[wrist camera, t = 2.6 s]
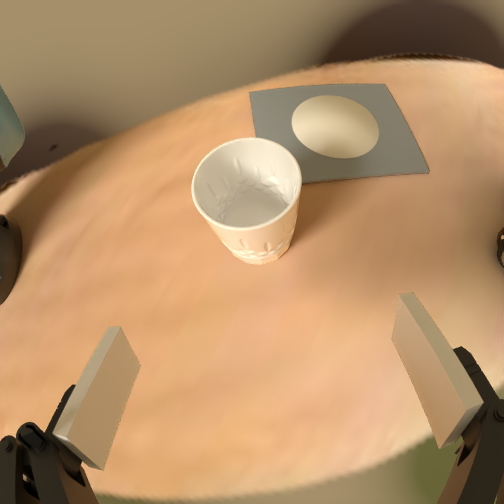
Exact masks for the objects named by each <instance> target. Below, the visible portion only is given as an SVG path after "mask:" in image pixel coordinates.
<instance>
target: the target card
mask: <svg viewBox="0 0 504 504" xmlns="http://www.w3.org/2000/svg"><path fill="white" fill-rule="evenodd" d="M249 94H250V101H251V107H252V114H253V121H254V127H255V134H256V138H263V139H268V140H271V141H273V142H276V143H278V144H280V145H281V146H283V147H284V148H286V149H287V150H288V151H289V152H290V153H291V154H292V155H293V156H294V158H295V159H296V161H297V163H298V165H299V167H300V171H301V176H302V184H307V183H316V182H325V181H334V180H344V179H355V178H366V177H378V176H392V175H407V174H425V173H429V172H430V171H429V169H428V167H427V164H426V162H425V160H424V157H423V155H422V153H421V151H420V149H419V147H418V144H417V142H416V140H415V138H414V136H413V134H412V132H411V130H410V128H409V126H408V124H407V122H406V120H405V118H404V117H403V115H402V113H401V111H400V109H399V107H398V106H397V104H396V102H395V100H394V99H393V97H392V95H391V93H390V92H389V90H388V88H387V87H386V85H385V84H328V85H311V86H298V87H287V88H277V89H269V90H261V91H254V92H249Z"/></svg>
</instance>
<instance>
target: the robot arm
mask: <svg viewBox="0 0 504 504" xmlns="http://www.w3.org/2000/svg"><path fill="white" fill-rule="evenodd" d="M24 138H25V134H24V129H23V126H22V123H21V121H20V119H19V117H18V115H17V113H16V111H15V109H14V108H13V106H12V104H11V102H10V101H9V99H8V97H7V95H6V94H5V92H4V90H3V89H2V87H1V86H0V172H1V171H2V170H3V169H4V167H7V166H8V164H9V161H10V160H11V159H12V157H13V156H14V155H15V154H16V152H17V151H18V150H19V149H20V148H21V146H22V144H23V142H24ZM21 248H22V239H21V232H20V229H19V226H18V225H17V223H16V222H15V221H14V220H12V219H10V218H9V217H7V216H5V215H3V214H0V304H1V303H2V302H3V301H4V300H5V298H6V297H7V295H8V294H9V292H10V290H11V288H12V286H13V283H14V281H15V278H16V275H17V272H18V268H19V263H20V258H21ZM392 341H393V343H394V345H395V347H396V349H397V351H398V353H399V355H400V358H401V360H402V362H403V364H404V366H405V368H406V370H407V373H408V375H409V377H410V379H411V381H412V384H413V386H414V388H415V390H416V393H417V395H418V397H419V400H420V402H421V404H422V407H423V409H424V411H425V414H426V416H427V419H428V421H429V424H430V426H431V429H432V431H433V434H434V436H435V439H436V442H437V444H438V447H439V449H441V448H443V447H445V446H448V445H450V444H453V443H455V442H456V441H457V440H458V438H459V437H460V436H462V438H463V440H464V441H463V442H462V444H461V445H460V446H459V447H458V449H457V450H456V452H455V454H457V453H458V452H459V453H458V456H457V459H456V461H455V464H454V466H453V469H452V471H451V474H450V476H449V479H448V481H447V483H446V485H445V488H444V490H443V492H442V494H441V496H440V498H439V500H438V502H437V504H494V501H495V498H496V495H497V501H496V504H504V400H503V399H499V397H498V396H497V395H496V393H495V391H494V390H493V388H492V386H491V384H490V383H489V381H488V380H487V378H486V376H485V375H484V373H483V371H481V368H480V367H479V365H478V364H477V362H476V361H475V359H474V357H473V356H472V354H471V353H470V352H468V351H467V350H466V349H464V348H463V347H462V346H461V347H458V348H455V349H452V348H451V346H450V345H449V343H448V342H447V340H446V339H445V337H444V336H443V334H442V333H441V331H440V330H439V328H438V327H437V325H436V324H435V322H434V321H433V319H432V318H431V316H430V315H429V314H428V312H427V311H426V309H425V308H424V306H423V305H422V304H421V302H420V301H419V299H418V298H417V297H416V295H415V294H414V293H413V292H411V293H406V294H401V295H399V297H398V304H397V311H396V317H395V324H394V330H393V335H392ZM140 367H141V365H140V363H139V361H138V359H137V357H136V355H135V353H134V352H133V350H132V348H131V346H130V344H129V342H128V340H127V338H126V336H125V334H124V332H123V330H122V328H121V327H108V329H107V330H106V332H105V334H104V336H103V337H102V339H101V341H100V342H99V344H98V346H97V348H96V349H95V351H94V353H93V355H92V357H91V358H90V360H89V362H88V364H87V366H86V367H85V369H84V371H83V373H82V375H81V377H80V379H79V380H78V382H77V384H76V385H72V386H71V387H70V388H69V389H68V390H67V391H66V392H65V393H64V395H63V397H62V399H61V402H60V403H59V405H58V409H56V411H55V413H54V415H53V417H52V419H51V421H50V423H49V425H48V427H47V429H46V431H45V433H44V432H43V431H42V430H41V429H40V428H39V427H38V426H37V425H36V424H35V423H33V422H27V423H25V424H23V425H22V426H21V427H20V428H19V429H18V431H17V433H16V438H14V437H13V436H10V435H8V436H5V437H4V438H3V439H2V440H1V441H0V504H98V501H97V499H96V497H95V495H94V493H93V490H92V488H91V486H90V483H89V481H88V479H87V476H86V474H85V471H84V469H83V468H82V466H81V463H82V461H83V462H84V463H85V464H87V465H88V466H89V467H91V468H95V469H99V470H103V471H104V467H105V464H106V461H107V458H108V455H109V452H110V449H111V446H112V443H113V440H114V437H115V434H116V431H117V428H118V426H119V423H120V420H121V417H122V414H123V412H124V409H125V406H126V403H127V401H128V398H129V395H130V393H131V390H132V387H133V385H134V382H135V379H136V377H137V374H138V372H139V369H140ZM23 474H24V475H25V476H26V477H27V480H26V481H24V480H23ZM497 492H498V494H497Z"/></svg>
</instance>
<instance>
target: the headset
mask: <svg viewBox="0 0 504 504" xmlns="http://www.w3.org/2000/svg"><path fill="white" fill-rule="evenodd" d="M497 244H498V252H497V256H498V260H499V262H500V263H501V265H502V266H503V267H504V228H503V229H502V230H501V231H500V232H499V234H498V239H497Z"/></svg>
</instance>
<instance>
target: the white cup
mask: <svg viewBox="0 0 504 504" xmlns="http://www.w3.org/2000/svg"><path fill="white" fill-rule="evenodd" d="M301 185H302V176H301V171H300V167H299V165H298V163H297V161H296V159H295V158H294V156H293V155H292V154H291V153H290V152H289V151H288V150H287V149H286V148H284V147H283V146H281V145H280V144H278V143H276V142H273V141H271V140H268V139H263V138H256V137H246V138H239V139H235V140H231V141H228V142H226V143H223V144H221V145H220V146H218V147H216V148H215V149H213V150H212V151H211V152H209V153H208V154H207V155H206V156H205V157H204V158H203V160H202V161H201V162H200V164H199V165H198V167H197V169H196V171H195V173H194V176H193V180H192V197H193V200H194V203H195V205H196V207H197V209H198V210H199V212H200V213H201V214H202V216H203V217H204V218H205V220H206V221H207V222H208V224H209V225H210V227H211V228H212V229H213V231H214V232H215V233H216V235H217V236H218V237H219V238H220V239H221V241H222V242H223V243H224V244H225V246H227V247H228V248H229V249H230V250H231V252H232V253H233V255H234V256H236V257H237V258H239V259H241V260H242V261H244V262H246V263H249V264H259V265H263V264H266V263H269V262H272V261H275V260H277V259H278V258H280V257H281V256H282V255H283V254H284V253H285V252H286V251H287V250H288V248H289V245H290V243H291V240H292V237H293V233H294V229H295V224H296V220H297V214H298V207H299V199H300V192H301Z"/></svg>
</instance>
